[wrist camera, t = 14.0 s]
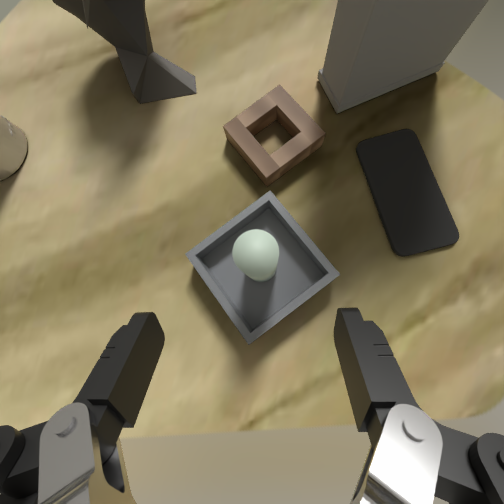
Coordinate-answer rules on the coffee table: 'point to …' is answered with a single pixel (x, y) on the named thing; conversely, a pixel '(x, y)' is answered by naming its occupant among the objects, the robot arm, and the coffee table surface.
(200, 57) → the coffee table surface
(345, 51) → the tall grey upright box
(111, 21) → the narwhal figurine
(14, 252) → the coffee table surface
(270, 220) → the tray
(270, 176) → the brown hollow square block
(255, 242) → the pale green rounded cylinder
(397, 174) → the phone
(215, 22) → the coffee table surface
